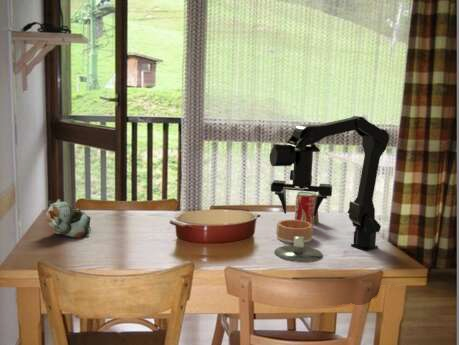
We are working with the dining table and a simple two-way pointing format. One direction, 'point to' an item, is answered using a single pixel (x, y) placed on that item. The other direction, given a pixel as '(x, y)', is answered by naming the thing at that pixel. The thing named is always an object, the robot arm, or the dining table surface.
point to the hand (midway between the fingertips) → (299, 214)
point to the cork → (316, 213)
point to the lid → (298, 251)
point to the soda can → (305, 207)
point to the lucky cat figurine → (68, 220)
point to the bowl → (294, 230)
